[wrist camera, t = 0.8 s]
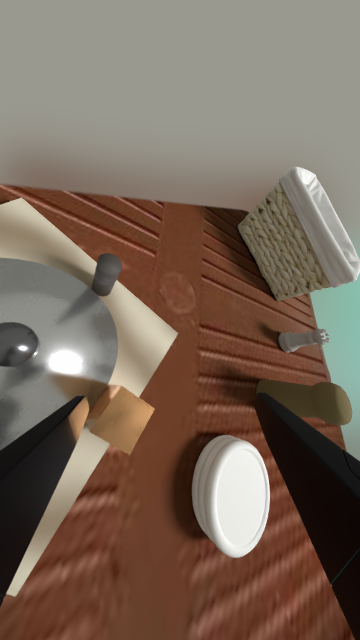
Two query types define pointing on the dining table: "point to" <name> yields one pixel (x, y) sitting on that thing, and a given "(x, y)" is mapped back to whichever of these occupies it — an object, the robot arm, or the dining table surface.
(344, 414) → the cork
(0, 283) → the flange plate
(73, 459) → the birch base board
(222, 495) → the coaster
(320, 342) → the white chess piece
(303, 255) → the storage basket
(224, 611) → the dining table surface
